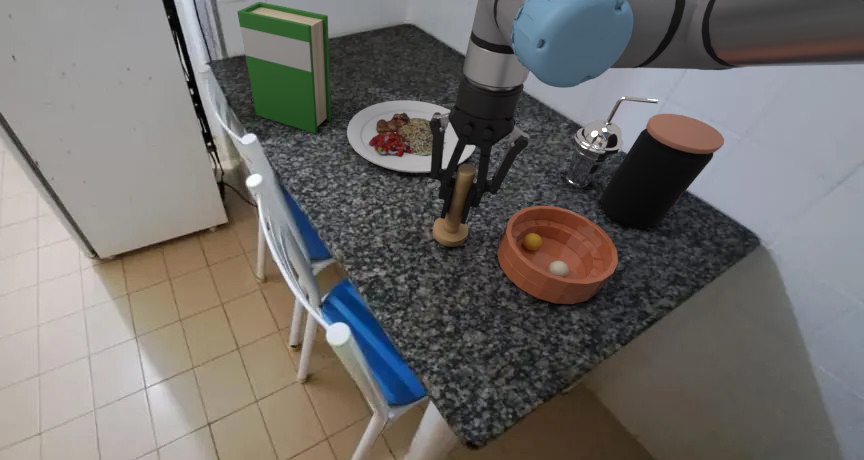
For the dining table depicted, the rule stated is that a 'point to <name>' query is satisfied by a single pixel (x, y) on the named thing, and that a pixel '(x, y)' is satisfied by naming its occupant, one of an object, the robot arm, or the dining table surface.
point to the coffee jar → (659, 169)
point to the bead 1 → (532, 241)
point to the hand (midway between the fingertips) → (454, 215)
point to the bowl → (557, 254)
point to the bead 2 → (559, 268)
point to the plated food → (401, 136)
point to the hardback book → (287, 64)
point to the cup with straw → (596, 146)
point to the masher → (456, 210)
